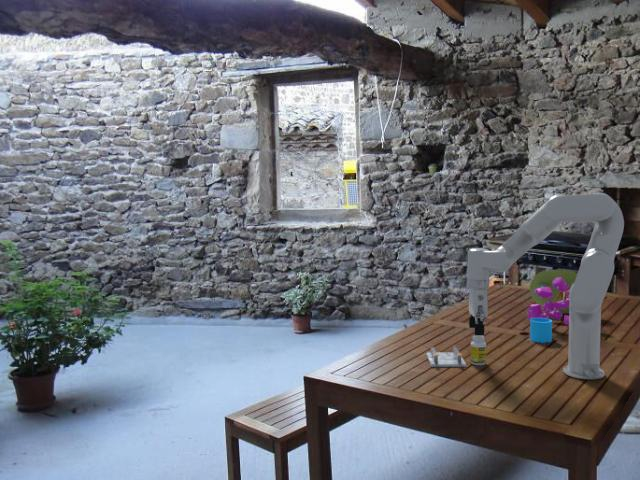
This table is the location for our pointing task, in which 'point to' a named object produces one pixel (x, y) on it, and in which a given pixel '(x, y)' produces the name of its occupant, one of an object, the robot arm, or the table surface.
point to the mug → (541, 330)
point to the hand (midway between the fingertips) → (476, 331)
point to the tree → (551, 294)
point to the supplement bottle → (478, 350)
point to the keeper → (446, 358)
